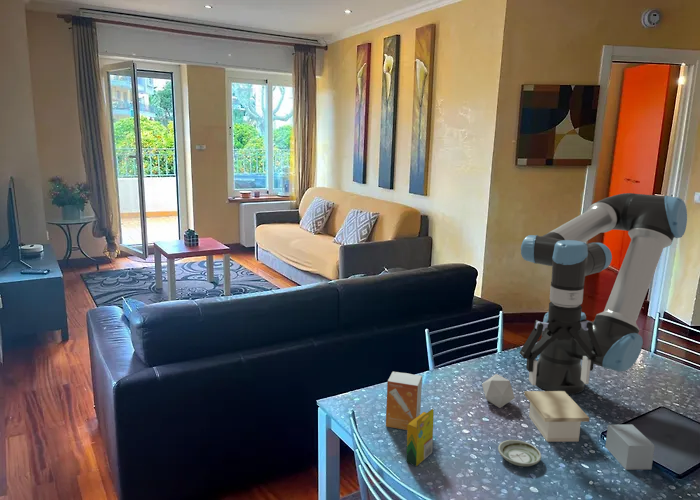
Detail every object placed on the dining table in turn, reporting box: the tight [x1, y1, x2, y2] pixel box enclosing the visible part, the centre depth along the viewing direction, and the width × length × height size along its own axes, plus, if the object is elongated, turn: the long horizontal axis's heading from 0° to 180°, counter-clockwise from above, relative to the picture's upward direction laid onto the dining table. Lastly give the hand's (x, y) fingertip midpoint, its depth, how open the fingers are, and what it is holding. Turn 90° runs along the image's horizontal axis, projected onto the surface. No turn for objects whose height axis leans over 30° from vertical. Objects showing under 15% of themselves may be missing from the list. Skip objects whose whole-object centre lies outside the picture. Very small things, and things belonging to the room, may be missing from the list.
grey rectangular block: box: [604, 423, 656, 471], centre depth 122 cm, size 6×9×6 cm, turn 2°
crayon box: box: [406, 408, 434, 467], centre depth 120 cm, size 7×3×12 cm, turn 140°
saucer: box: [497, 439, 542, 467], centre depth 121 cm, size 10×10×2 cm
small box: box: [385, 371, 423, 431], centre depth 135 cm, size 8×6×13 cm
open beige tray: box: [528, 402, 582, 443], centre depth 134 cm, size 8×12×6 cm, turn 2°
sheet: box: [523, 390, 590, 423], centre depth 133 cm, size 11×14×1 cm
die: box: [481, 373, 516, 409], centre depth 147 cm, size 8×9×10 cm
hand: (558, 382), depth 132 cm, fingers open, 13 cm apart
